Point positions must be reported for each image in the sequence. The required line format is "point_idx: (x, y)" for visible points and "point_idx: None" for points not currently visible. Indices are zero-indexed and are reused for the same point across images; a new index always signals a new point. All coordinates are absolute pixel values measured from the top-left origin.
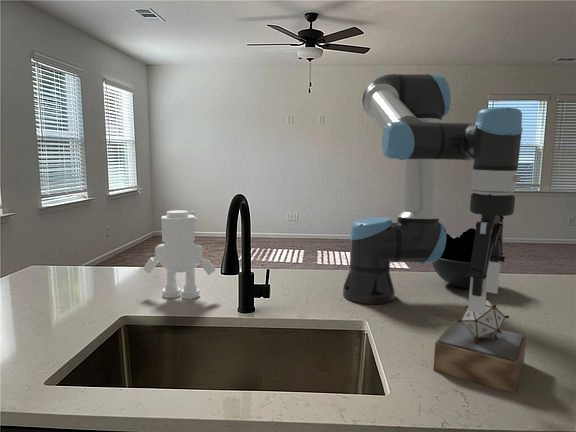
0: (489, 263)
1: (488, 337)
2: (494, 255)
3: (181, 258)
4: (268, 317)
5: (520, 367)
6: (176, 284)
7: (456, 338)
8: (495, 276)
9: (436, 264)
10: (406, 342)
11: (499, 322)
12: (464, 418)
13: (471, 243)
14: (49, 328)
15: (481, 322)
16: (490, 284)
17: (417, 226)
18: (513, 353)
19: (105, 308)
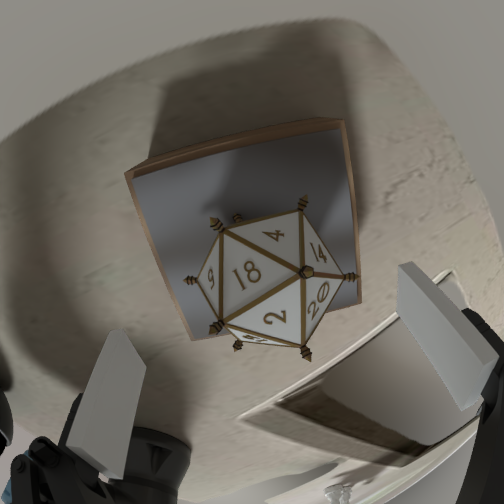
0: (113, 463)
1: None
2: (93, 495)
3: None
4: (330, 454)
5: (222, 138)
6: (341, 498)
7: None
8: (107, 394)
9: (12, 430)
10: (263, 353)
11: (279, 224)
12: (449, 161)
13: None
14: (441, 455)
15: (335, 262)
16: (127, 374)
17: None
18: (303, 141)
19: (396, 475)
